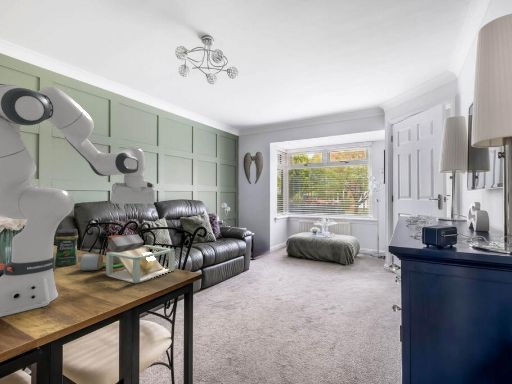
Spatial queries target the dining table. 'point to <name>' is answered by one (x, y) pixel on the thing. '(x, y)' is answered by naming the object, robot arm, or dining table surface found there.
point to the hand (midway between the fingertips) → (133, 213)
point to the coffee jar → (66, 247)
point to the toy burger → (115, 260)
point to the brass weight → (147, 262)
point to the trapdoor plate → (131, 252)
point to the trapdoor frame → (138, 265)
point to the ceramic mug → (91, 262)
